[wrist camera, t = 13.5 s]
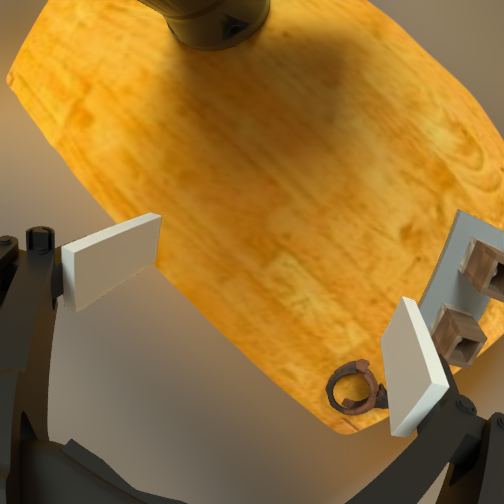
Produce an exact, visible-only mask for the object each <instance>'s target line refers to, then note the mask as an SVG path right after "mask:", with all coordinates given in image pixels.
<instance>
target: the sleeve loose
mask: <svg viewBox="0 0 504 504" xmlns="http://www.w3.org/2000/svg"><path fill="white" fill-rule="evenodd" d="M428 332H429V334H430V336H431V339H432V341H433V344H434V346H435V349H436V351H437V353H439V354H441V355H442V356H443V357H444V358H445V360H446V361H447V362H448V364H449V365H453V366H457V367H461V368H466V369H469V367H470V366H471V364H472V363H473V361H474V360H475V358H476V357H477V355H478V353H479V352H480V350H481V348H482V347H483V345H484V344H485V342H486V340H487V337H486V336H485V334H484V333H483V331H482V330H481V328H480V327H479V325H478V324H477V322H476V321H475V319H474V318H473V316H472V315H471V313H470V312H469V310H466V309H463V308H460V307H458V306H455V305H452V304H449V303H446V302H443V303H442V305H441V307H440V309H439V311H438V313H437V315H436V317H435V318H434V320H433V322H432V324H431V326H430V328H429V330H428ZM461 337H463V339H462V341H461V342H459V340H460V339H461ZM458 342H459V343H458Z"/></svg>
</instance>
